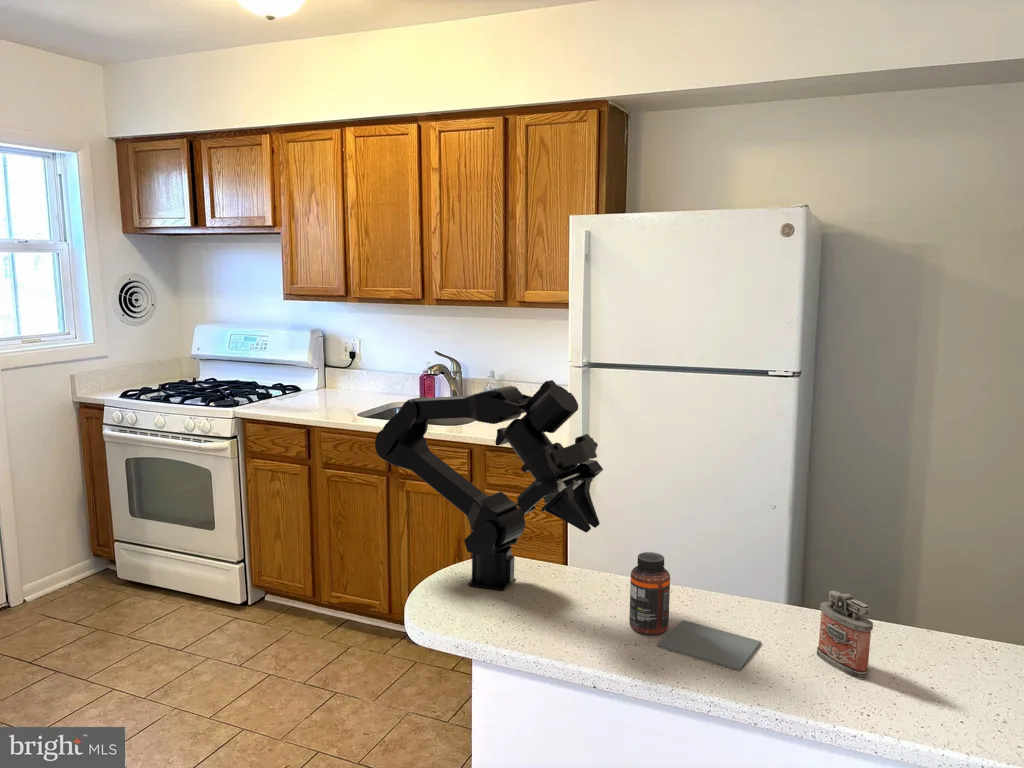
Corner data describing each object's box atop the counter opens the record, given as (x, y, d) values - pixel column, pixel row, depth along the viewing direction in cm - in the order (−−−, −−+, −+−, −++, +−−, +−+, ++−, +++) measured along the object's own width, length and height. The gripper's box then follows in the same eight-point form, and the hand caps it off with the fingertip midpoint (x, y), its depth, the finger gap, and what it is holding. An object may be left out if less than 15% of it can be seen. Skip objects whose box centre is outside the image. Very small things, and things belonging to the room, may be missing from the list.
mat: (657, 646, 109) (657, 644, 109) (682, 621, 118) (682, 619, 118) (739, 671, 103) (739, 669, 103) (760, 643, 111) (760, 641, 111)
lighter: (810, 653, 108) (815, 586, 107) (828, 649, 110) (833, 583, 108) (856, 680, 101) (862, 609, 100) (874, 676, 102) (881, 605, 101)
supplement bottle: (666, 620, 118) (669, 550, 117) (670, 637, 112) (674, 564, 111) (627, 617, 119) (630, 548, 117) (629, 635, 113) (632, 562, 111)
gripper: (535, 428, 112) (599, 514, 107) (594, 412, 127) (652, 486, 123) (491, 472, 118) (550, 555, 113) (553, 451, 133) (607, 524, 128)
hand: (593, 528), depth 119 cm, fingers open, 3 cm apart
